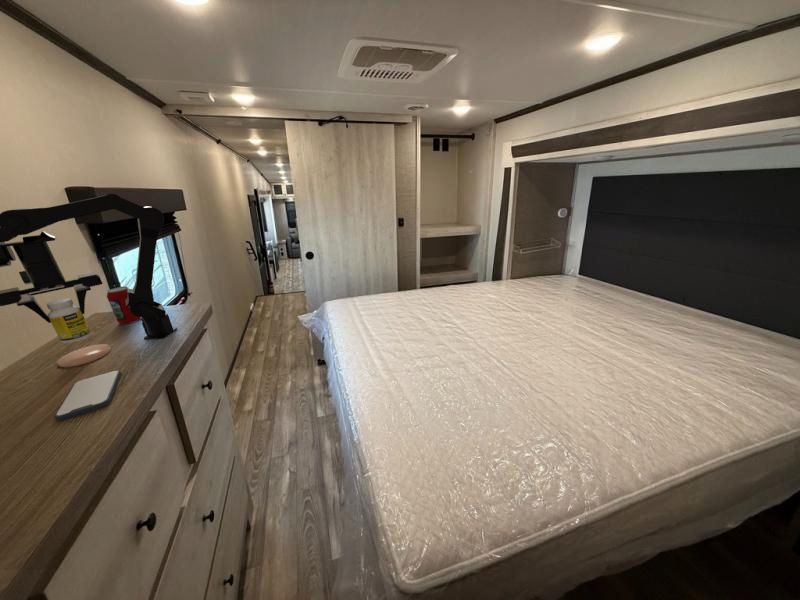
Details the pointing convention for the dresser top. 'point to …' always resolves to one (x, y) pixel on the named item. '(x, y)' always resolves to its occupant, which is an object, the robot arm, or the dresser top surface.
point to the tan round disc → (84, 355)
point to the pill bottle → (68, 321)
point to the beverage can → (120, 305)
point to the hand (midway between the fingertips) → (67, 317)
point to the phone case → (88, 395)
